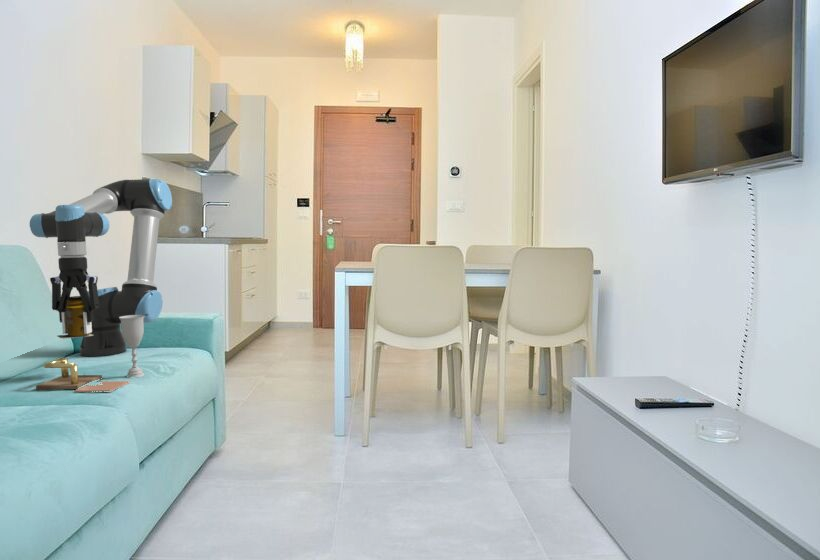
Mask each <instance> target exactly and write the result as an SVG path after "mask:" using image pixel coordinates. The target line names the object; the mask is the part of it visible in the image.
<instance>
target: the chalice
mask: <svg viewBox="0 0 820 560" xmlns="http://www.w3.org/2000/svg"><path fill="white" fill-rule="evenodd" d="M144 317H145V315H128V316H121V317H119V319H120V320H121V323H120V331H121V333H122V335H123V338H124V340H125V343H126V346H128V347H130V348H131V349H132V350H131V357H132V358H131V362H132V367H131V368H129V369H128V371H127V374H126V376H128V377H137V378H141V377H144V376H145V374H144V372H143V369H142V368H141V367H140V366H138V363H137V361H138V358H137V355H138V353H137V350H136V349H137V347H139V346H140V343H141V342H142V340H143V336H144V334H145V329H144V328H145V326H144V324H145V323H143V319H144Z"/></svg>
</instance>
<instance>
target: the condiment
mask: <svg viewBox="0 0 820 560" xmlns="http://www.w3.org/2000/svg"><path fill="white" fill-rule="evenodd" d="M66 300H67V306H66V321H67V334H61V335H60V334H59V335H56V337H58V338H60V339H62V340H66V339H75V338H83V337H86V336H93V335H92V334H89V333H88V334H84V320H83V312H84V311H85V308H84V305H83V302H82V300H81V297H80V295H76V296H75V295H74V296H70V297H67V299H66Z"/></svg>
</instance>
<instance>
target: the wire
mask: <svg viewBox="0 0 820 560" xmlns="http://www.w3.org/2000/svg"><path fill="white" fill-rule="evenodd" d="M68 361H69V360H68V358H66V357H65V356H63V357H60V358H56V359H54V360H51V361H48V362H45V363H43V368H45V369H60V370H61V371H60V372H61V376H62V378H66V377H69V375H71V384H72V385H74V384H78V375H79V371H78V364H76V363H75V362H68ZM69 372H70V373H69Z"/></svg>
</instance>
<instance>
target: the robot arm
mask: <svg viewBox="0 0 820 560" xmlns="http://www.w3.org/2000/svg"><path fill="white" fill-rule="evenodd" d="M172 206H173V196H172V192H171V189H170V187H169V185H168V183H166V181H164V180H163V179H159V178H158V179H157V178H148V179H147V178H144V179H122V180H121V179H120V180H118V181H114V182H110V183H108V184H105V185H103V186H100V187H98V188H97V189H95V190H94V191H92V193H91V194H90V195H88V196H86V197H82V198H81V199H79V200H76V201H75V202H72V203H70V204H59V205H57V206H56V207H55V210H53V211H51V212H48V213H44V212H42V213H35V214H33V215H32V216H31V217H30V220H29V228H30V231H31V233H32V235H34V236H35V237H37V238H45V239H48V238H57V239H56V240H57V241H56V243H57V255H58V256H59V258H58V270H59V272H60V273H59V274H58V276H53V277H50V278H49V279H50V283H51V309H52V310H53V311H56V312H58V315H59V317H58V318H59V323H61V324H62V325H61V326H62V335H68V334H67V321H66V306H67V300H66V299H67V297H71V293H72V290H73V289H76V291H78V293H79V296H80V297H81V300H82V302H83V305H84V308H85V311H84V312H83V320H84V334H88V333H89V334H92V335H93V336H86V337H82V340H81V344H80V347H79V354H80V356H82V357H102V356H110V355H116V354H121V353H124V352H126V351H127V343H126V341H125V340H124V338H123V335H122V331H121V320H120V319H119V317H121V316H128V315H145V317H144V319H143V323H144V324H149V323H153V322H155V321H156V320H157V319H158V318H159V316H160V314H161V312H162V308H163V299H162V298H163V297H162V293H161V292H160V291H159V290H158V287H157V285H156V284H155V283H154V278H155V269H156V267H155V265H156V256H157V247H158V237H159V229H160V228H159V227H160V221H161V220H162V219H163V218H164V217H165V212H167V211H169V210H171V208H172ZM115 212H130V214H131V216H132V217H133V225H132V226H133V227H132V236H131V245H130V254H129V262H128V272H127V280H126V281H124V282H123V283H122V285H121V290H119V288H118V287H117V286H111V287H106V288H100V289H98V285H97V284H98V280H99V279H98V278H99V277H98V276H97V275H95V276H93V275H89V273H88V258H87V257H86V256H87V242H86V240H87V239H86V238H87V237H94V238H95V237H96V238H98V237H102V236H104V235H106V234H107V233H108V232H109V229H110V221H109V218H108V217H107V216H106V215H109V214H113V213H115ZM105 214H106V215H105ZM61 282H62V283H61ZM86 282H87V284H86Z"/></svg>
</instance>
